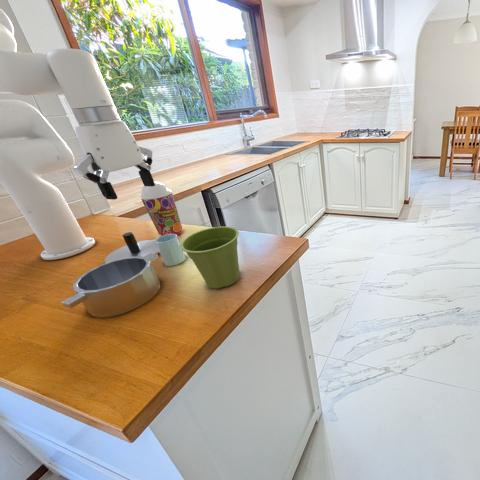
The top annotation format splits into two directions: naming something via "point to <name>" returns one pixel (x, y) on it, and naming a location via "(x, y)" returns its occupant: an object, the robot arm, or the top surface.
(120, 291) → the silver cooking pot
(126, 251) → the lid
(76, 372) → the top surface
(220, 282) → the plant pot
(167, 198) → the smoothie
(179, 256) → the measuring cup
